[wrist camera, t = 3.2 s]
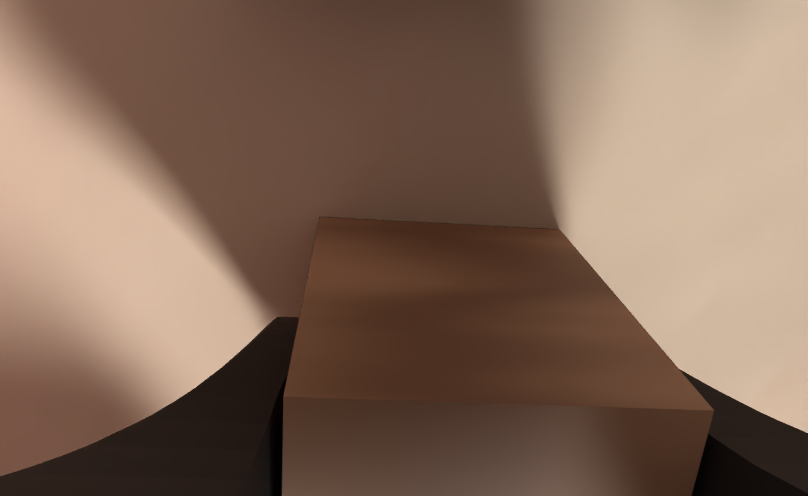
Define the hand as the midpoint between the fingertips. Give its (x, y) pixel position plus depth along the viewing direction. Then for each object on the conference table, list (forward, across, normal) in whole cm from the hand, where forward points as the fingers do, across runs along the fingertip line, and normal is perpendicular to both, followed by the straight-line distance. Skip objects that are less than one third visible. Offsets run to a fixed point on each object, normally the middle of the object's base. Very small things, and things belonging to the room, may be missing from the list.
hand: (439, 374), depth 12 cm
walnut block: (+2, 0, 0) cm, 2 cm away
